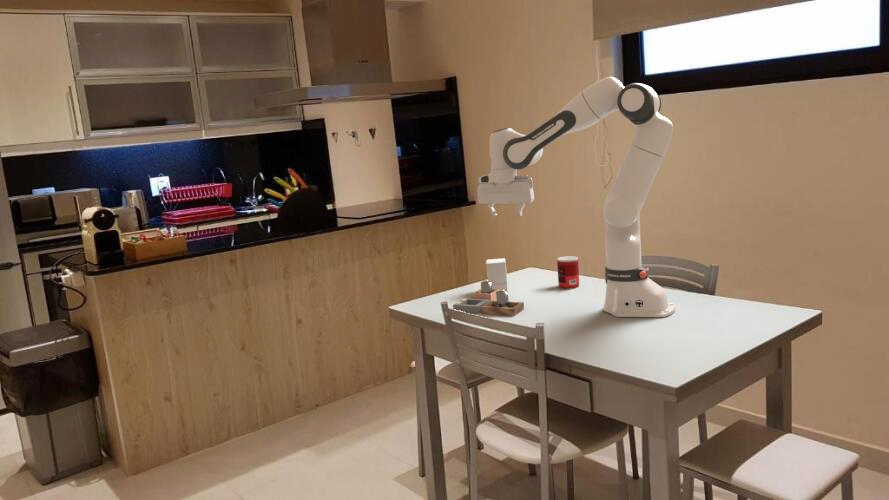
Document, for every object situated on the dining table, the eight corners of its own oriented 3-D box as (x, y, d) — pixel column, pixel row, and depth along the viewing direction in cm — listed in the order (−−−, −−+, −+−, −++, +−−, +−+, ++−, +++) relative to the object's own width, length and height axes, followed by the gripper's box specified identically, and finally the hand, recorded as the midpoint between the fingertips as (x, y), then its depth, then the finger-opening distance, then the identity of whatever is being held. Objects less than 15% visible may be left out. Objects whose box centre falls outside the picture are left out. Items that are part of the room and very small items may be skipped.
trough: (524, 310, 232) (523, 302, 231) (514, 317, 225) (514, 308, 225) (492, 308, 238) (491, 300, 237) (482, 315, 231) (481, 306, 231)
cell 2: (511, 310, 232) (509, 288, 231) (506, 313, 229) (504, 291, 227) (500, 309, 234) (498, 288, 233) (495, 312, 231) (493, 291, 229)
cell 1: (494, 301, 245) (494, 280, 243) (485, 303, 243) (484, 282, 241) (488, 299, 248) (487, 278, 247) (479, 301, 246) (478, 280, 245)
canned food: (582, 284, 260) (581, 256, 258) (574, 289, 253) (573, 260, 251) (563, 283, 264) (562, 255, 262) (555, 288, 258) (553, 260, 255)
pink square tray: (500, 301, 247) (499, 289, 246) (491, 306, 241) (490, 294, 240) (482, 300, 250) (481, 288, 249) (473, 305, 244) (472, 293, 243)
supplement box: (508, 290, 262) (505, 257, 259) (508, 295, 254) (505, 261, 252) (488, 291, 262) (486, 259, 260) (488, 296, 255) (485, 263, 253)
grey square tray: (490, 307, 239) (490, 298, 239) (479, 315, 232) (478, 306, 231) (465, 306, 244) (464, 297, 244) (453, 313, 237) (452, 304, 236)
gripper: (535, 174, 233) (538, 214, 235) (482, 176, 243) (485, 214, 245) (528, 176, 227) (531, 217, 230) (474, 178, 238) (477, 217, 240)
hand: (507, 216), depth 238 cm, fingers open, 8 cm apart
